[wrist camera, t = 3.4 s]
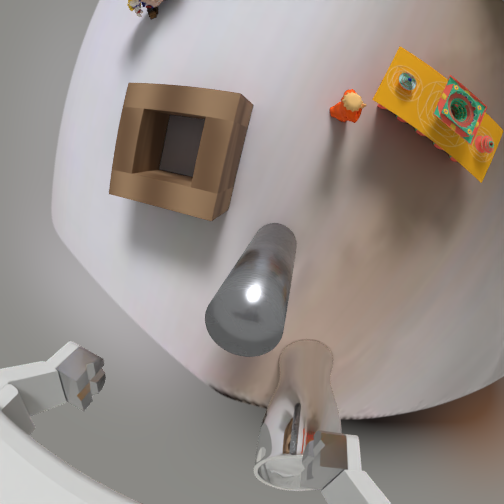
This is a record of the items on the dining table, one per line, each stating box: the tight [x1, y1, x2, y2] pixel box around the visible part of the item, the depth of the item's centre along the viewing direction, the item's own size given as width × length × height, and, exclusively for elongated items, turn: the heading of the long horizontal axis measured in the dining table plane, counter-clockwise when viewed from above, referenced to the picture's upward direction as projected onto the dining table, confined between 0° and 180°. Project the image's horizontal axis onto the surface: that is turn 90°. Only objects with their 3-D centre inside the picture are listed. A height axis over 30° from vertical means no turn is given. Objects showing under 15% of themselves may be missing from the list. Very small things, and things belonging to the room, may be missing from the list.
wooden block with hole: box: [109, 83, 253, 221], centre depth 24 cm, size 10×10×5 cm
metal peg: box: [205, 223, 296, 357], centre depth 21 cm, size 4×4×14 cm
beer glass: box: [254, 340, 342, 491], centre depth 24 cm, size 7×7×15 cm
